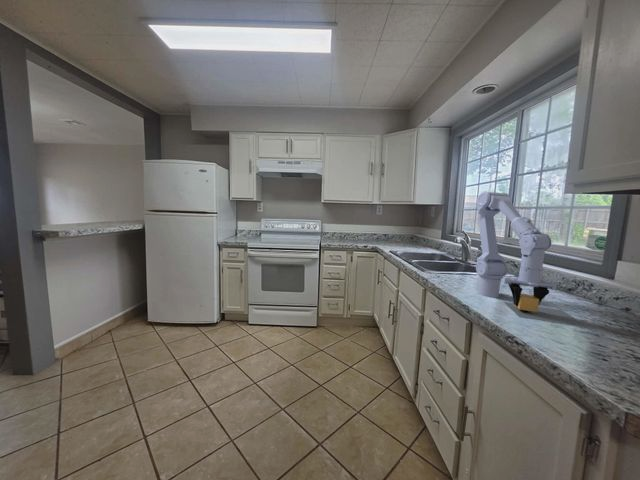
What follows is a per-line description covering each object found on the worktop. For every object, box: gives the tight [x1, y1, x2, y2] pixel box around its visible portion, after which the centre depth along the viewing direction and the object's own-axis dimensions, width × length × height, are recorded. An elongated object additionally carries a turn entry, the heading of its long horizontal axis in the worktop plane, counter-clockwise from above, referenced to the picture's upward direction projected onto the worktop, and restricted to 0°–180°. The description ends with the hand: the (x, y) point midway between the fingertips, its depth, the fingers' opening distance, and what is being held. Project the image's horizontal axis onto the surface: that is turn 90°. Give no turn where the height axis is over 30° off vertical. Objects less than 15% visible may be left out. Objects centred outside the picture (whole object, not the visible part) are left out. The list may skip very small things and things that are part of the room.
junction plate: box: [503, 301, 591, 329], centre depth 84 cm, size 15×18×1 cm
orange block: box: [513, 292, 540, 312], centre depth 85 cm, size 5×5×4 cm
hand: (524, 306), depth 85 cm, fingers closed on orange block, 5 cm apart
